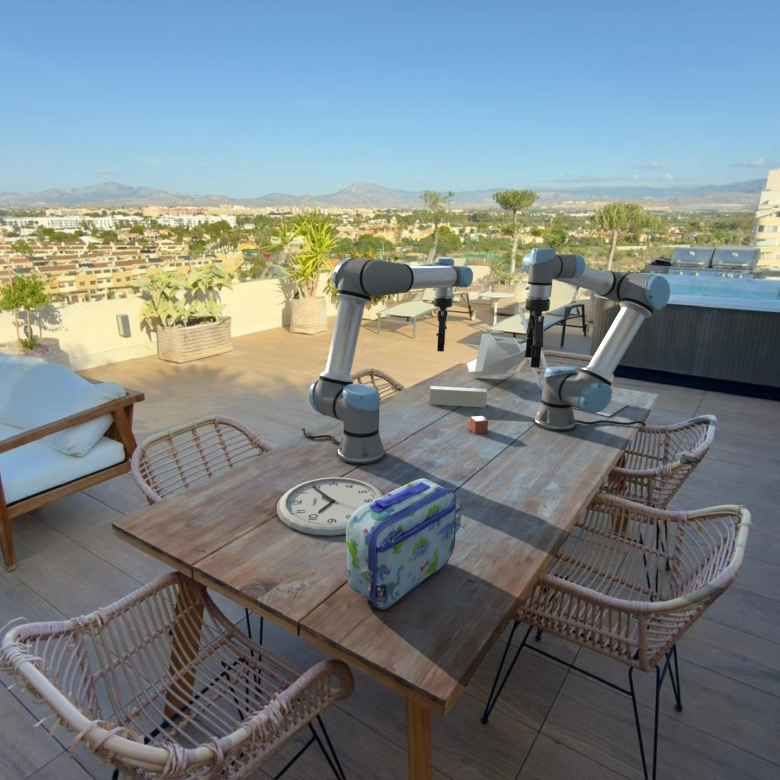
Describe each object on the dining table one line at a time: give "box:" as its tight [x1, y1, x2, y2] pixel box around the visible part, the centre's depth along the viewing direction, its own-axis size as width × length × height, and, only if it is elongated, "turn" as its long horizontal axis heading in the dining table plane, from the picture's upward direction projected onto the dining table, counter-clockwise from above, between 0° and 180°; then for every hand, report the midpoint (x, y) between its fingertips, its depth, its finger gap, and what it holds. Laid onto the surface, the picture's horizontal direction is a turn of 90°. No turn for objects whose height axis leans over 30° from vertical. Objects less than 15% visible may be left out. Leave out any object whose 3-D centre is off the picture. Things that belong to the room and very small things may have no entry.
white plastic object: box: [466, 306, 549, 391], centre depth 258 cm, size 37×45×31 cm
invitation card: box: [573, 400, 628, 418], centre depth 226 cm, size 21×1×15 cm
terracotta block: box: [469, 415, 489, 435], centre depth 196 cm, size 5×5×5 cm
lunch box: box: [345, 477, 457, 610], centre depth 110 cm, size 26×11×21 cm, turn 134°
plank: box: [429, 385, 488, 408], centre depth 225 cm, size 24×4×7 cm, turn 83°
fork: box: [456, 495, 462, 511], centre depth 138 cm, size 3×16×2 cm, turn 160°
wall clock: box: [276, 476, 385, 537], centre depth 143 cm, size 30×2×30 cm
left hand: (441, 347), depth 220 cm, fingers open, 13 cm apart
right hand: (531, 362), depth 174 cm, fingers open, 13 cm apart
